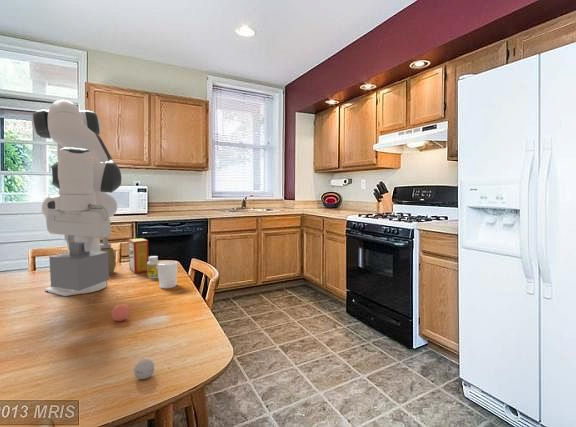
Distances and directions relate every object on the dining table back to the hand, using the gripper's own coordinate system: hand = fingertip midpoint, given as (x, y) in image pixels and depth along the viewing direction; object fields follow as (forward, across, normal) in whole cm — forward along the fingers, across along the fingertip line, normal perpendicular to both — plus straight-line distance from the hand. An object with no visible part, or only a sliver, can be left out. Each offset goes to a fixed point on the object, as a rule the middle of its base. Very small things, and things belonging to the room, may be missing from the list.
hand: (79, 250), depth 92 cm
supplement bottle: (+24, +14, -49) cm, 56 cm away
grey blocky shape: (+10, 0, 0) cm, 10 cm away
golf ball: (+21, -37, +18) cm, 46 cm away
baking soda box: (+25, +29, -57) cm, 69 cm away
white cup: (+24, -1, -39) cm, 46 cm away
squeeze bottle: (+25, +41, -49) cm, 68 cm away
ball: (+20, -9, -5) cm, 22 cm away
